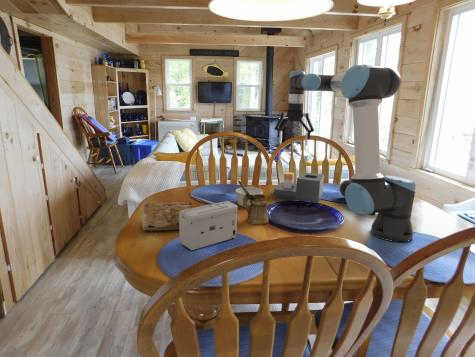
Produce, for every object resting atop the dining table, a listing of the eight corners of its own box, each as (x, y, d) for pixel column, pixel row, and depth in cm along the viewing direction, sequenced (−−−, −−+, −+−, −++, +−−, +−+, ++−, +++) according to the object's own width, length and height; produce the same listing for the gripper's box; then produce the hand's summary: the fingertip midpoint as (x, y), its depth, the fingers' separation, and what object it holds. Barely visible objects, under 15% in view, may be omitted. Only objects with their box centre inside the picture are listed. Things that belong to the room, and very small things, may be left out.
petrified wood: (190, 218, 142) (191, 198, 138) (193, 236, 131) (194, 215, 126) (144, 219, 138) (143, 198, 133) (142, 238, 126) (141, 216, 122)
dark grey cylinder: (365, 216, 151) (367, 194, 149) (336, 197, 178) (338, 179, 175) (383, 215, 153) (386, 193, 150) (353, 197, 180) (355, 178, 177)
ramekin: (260, 199, 171) (260, 187, 169) (263, 208, 158) (264, 194, 156) (234, 199, 170) (235, 186, 168) (236, 208, 157) (236, 194, 155)
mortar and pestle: (236, 217, 146) (237, 177, 141) (266, 217, 146) (268, 177, 142) (237, 224, 137) (238, 182, 133) (269, 224, 138) (271, 183, 133)
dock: (318, 204, 166) (320, 181, 163) (273, 198, 173) (274, 176, 170) (322, 195, 180) (324, 174, 177) (280, 190, 188) (282, 170, 185)
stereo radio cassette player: (226, 231, 130) (227, 182, 125) (239, 238, 124) (240, 187, 119) (178, 244, 118) (177, 190, 113) (189, 253, 111) (189, 196, 107)
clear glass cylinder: (291, 192, 175) (292, 174, 173) (283, 191, 177) (284, 173, 174) (293, 190, 179) (294, 172, 177) (284, 189, 181) (286, 171, 178)
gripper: (321, 103, 167) (318, 145, 172) (273, 102, 175) (271, 142, 180) (319, 103, 160) (316, 147, 165) (270, 102, 168) (268, 143, 173)
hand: (293, 144), depth 173 cm, fingers open, 13 cm apart
